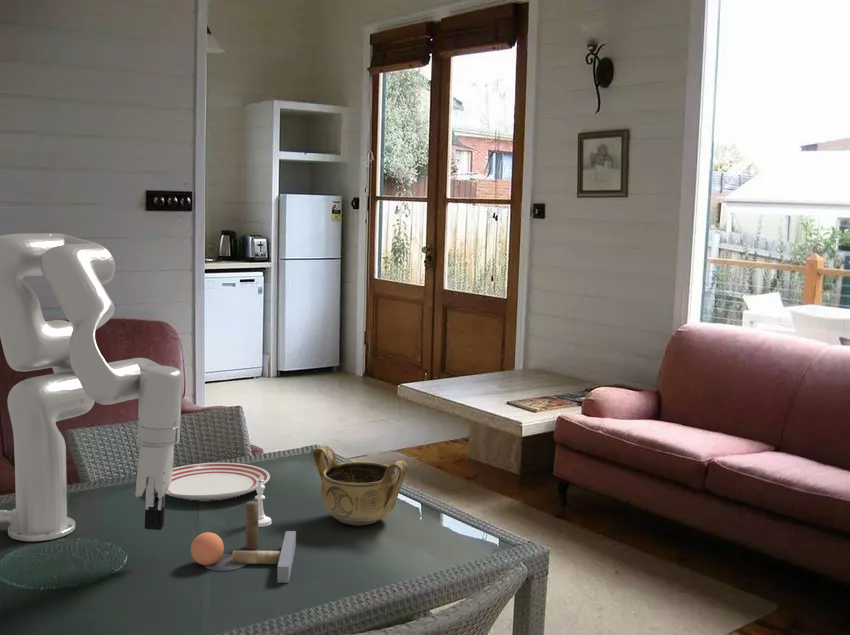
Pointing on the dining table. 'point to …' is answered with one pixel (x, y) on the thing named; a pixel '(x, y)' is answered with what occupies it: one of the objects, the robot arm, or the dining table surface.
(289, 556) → the back wall
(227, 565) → the pin spot
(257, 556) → the beech pin
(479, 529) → the dining table surface
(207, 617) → the dining table surface
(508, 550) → the dining table surface
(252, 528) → the walnut pin
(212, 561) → the ball
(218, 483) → the dinner plate
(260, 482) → the chess piece
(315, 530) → the dining table surface
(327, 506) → the ceramic bowl
